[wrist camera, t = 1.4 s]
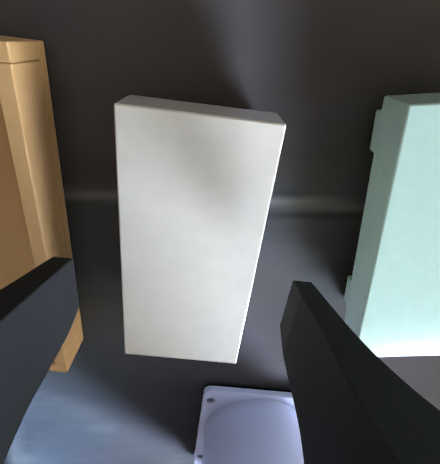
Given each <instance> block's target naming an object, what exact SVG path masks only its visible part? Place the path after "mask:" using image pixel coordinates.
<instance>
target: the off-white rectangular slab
mask: <svg viewBox="0 0 440 464" xmlns="http://www.w3.org/2000/svg"><path fill="white" fill-rule="evenodd" d="M114 122H115V144H116V167H117V189H118V211H119V233H120V256H121V278H122V300H123V322H124V345H125V353H126V354H135V355H146V356H157V357H168V358H179V359H190V360H202V361H213V362H224V363H236V361H237V357H238V352H239V347H240V342H241V338H242V333H243V328H244V324H245V319H246V314H247V309H248V305H249V300H250V295H251V291H252V286H253V281H254V276H255V272H256V267H257V262H258V258H259V253H260V248H261V244H262V239H263V234H264V229H265V225H266V220H267V215H268V211H269V206H270V201H271V196H272V192H273V187H274V182H275V178H276V173H277V168H278V163H279V159H280V154H281V149H282V145H283V140H284V135H285V130H286V124H285V122H284V121H283V119H282V118H281V117H280V115H279V114H278V113H273V112H265V111H256V110H248V109H240V108H232V107H224V106H216V105H208V104H200V103H192V102H184V101H176V100H168V99H160V98H152V97H144V96H136V95H128V96H126V97H125V98H123V99H121V100H119V101H117V102H116V103H114Z"/></svg>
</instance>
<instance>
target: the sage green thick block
mask: <svg viewBox="0 0 440 464" xmlns="http://www.w3.org/2000/svg"><path fill="white" fill-rule="evenodd" d="M370 151H372V152H373V153H374V156H373V162H372V167H371V173H370V179H369V184H368V190H367V195H366V201H365V207H364V212H363V218H362V223H361V229H360V235H359V240H358V246H357V251H356V257H355V262H354V268H353V274H352V275H350V276H348V278H347V284H346V290H345V295H344V300H345V302H346V305H347V307H346V313H345V318H344V322H345V323H346V324H347V325H348V326H349V327H350V329H351V330H352V331H353V332H354V333H355V334H356V335H357V336H358V337H359V338H360V339H361V341H362V342H363V343H364V344H365V345H366V346H367V347H368V348H369V349H370V350H371V351H372V352H373V353H374V354H375V355H376V356H377V357H396V356H433V355H440V93H424V94H408V95H391V96H385V97H384V100H383V106H382V109H379V110H377V111H376V115H375V121H374V126H373V132H372V138H371V144H370Z"/></svg>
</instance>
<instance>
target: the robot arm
mask: <svg viewBox="0 0 440 464" xmlns="http://www.w3.org/2000/svg"><path fill="white" fill-rule="evenodd" d="M78 309H79V298H78V291H77V284H76V276H75V269H74V262H73V258H64V257H52V258H50V259H49V260H47V261H45V262H44V263H42V264H40V265H39V266H37V267H36V268H34V269H33V270H31V271H29V272H28V273H26V274H25V275H23V276H22V277H20V278H18V279H17V280H15V281H14V282H12V283H10V284H9V285H7V286H6V287H4V288H2V289H1V290H0V464H3V463H4V461H5V458H6V456H7V453H8V451H9V449H10V446H11V444H12V442H13V440H14V437H15V435H16V433H17V430H18V428H19V426H20V424H21V421H22V419H23V417H24V415H25V413H26V411H27V409H28V407H29V405H30V403H31V401H32V399H33V397H34V395H35V394H36V392H37V390H38V388H39V386H40V385H41V383H42V381H43V379H44V377H45V376H46V374H47V372H48V370H49V369H50V367H51V365H52V363H53V361H54V360H55V358H56V356H57V354H58V352H59V351H60V349H61V347H62V345H63V343H64V341H65V340H66V338H67V336H68V334H69V331H70V329H71V327H72V324H73V322H74V319H75V317H76V314H77V311H78ZM280 328H281V340H282V349H283V356H284V361H285V366H286V370H287V375H288V379H289V384H290V388H291V392H281V391H269V390H258V389H246V388H235V387H223V386H207V387H206V388H205V389H204V393H203V399H202V406H201V413H200V420H199V427H198V433H197V440H196V447H195V454H194V464H440V411H439V410H438V409H437V408H436V407H434V406H433V405H432V404H431V403H429V402H428V401H427V400H426V399H424V398H423V397H422V396H421V395H419V394H418V393H417V392H416V391H415V390H413V389H412V388H411V387H410V386H409V385H408V384H406V383H405V382H404V381H403V380H402V379H401V378H400V377H399V376H398V375H396V374H395V373H394V372H393V371H392V370H391V369H390V368H389V367H388V366H386V365H385V364H384V363H383V362H382V361H381V360H380V359H379V358H378V357H377V356H376V355H375V354H374V353H373V352H372V351H371V350H370V349H369V348H368V347H367V346H366V345H365V344H364V343H363V342H362V341H361V339H360V338H359V337H358V336H357V335H356V334H355V333H354V332H353V331H352V330H351V329H350V327H349V326H348V325H347V324H346V323H345V322H344V321H343V320H342V318H341V317H340V316H339V315H338V314H337V313H336V311H335V310H334V309H333V308H332V307H331V305H330V304H329V303H328V302H327V301H326V299H325V298H324V297H323V296H322V295H321V293H320V292H319V291H318V290H317V289H316V287H315V286H314V285H313V284H312V283H311V282H301V281H293V283H292V286H291V290H290V293H289V297H288V300H287V304H286V307H285V310H284V314H283V317H282V321H281V324H280Z"/></svg>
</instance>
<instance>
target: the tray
mask: <svg viewBox="0 0 440 464" xmlns="http://www.w3.org/2000/svg"><path fill="white" fill-rule="evenodd" d="M52 257H64V258H73V257H72V249H71V242H70V234H69V227H68V220H67V212H66V205H65V197H64V190H63V182H62V175H61V168H60V160H59V153H58V145H57V138H56V130H55V123H54V115H53V108H52V101H51V93H50V86H49V78H48V71H47V63H46V56H45V49H44V42H43V41H41V40H34V39H26V38H18V37H11V36H3V35H0V290H1V289H2V288H4V287H6V286H7V285H9V284H10V283H12V282H14V281H15V280H17V279H18V278H20V277H22V276H23V275H25V274H26V273H28V272H29V271H31V270H33V269H34V268H36V267H37V266H39V265H40V264H42V263H44V262H45V261H47V260H49V259H50V258H52ZM82 341H83V331H82V324H81V316H80V309H78V311H77V314H76V317H75V319H74V322H73V324H72V327H71V329H70V331H69V334H68V336H67V338H66V340H65V341H64V343H63V345H62V347H61V349H60V351H59V352H58V354H57V356H56V358H55V360H54V361H53V363H52V365H51V367H50V369H49V370H48V371H59V372H68V370H69V368H70V366H71V364H72V362H73V360H74V357H75V355H76V353H77V351H78V349H79V347H80V345H81V343H82Z"/></svg>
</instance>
